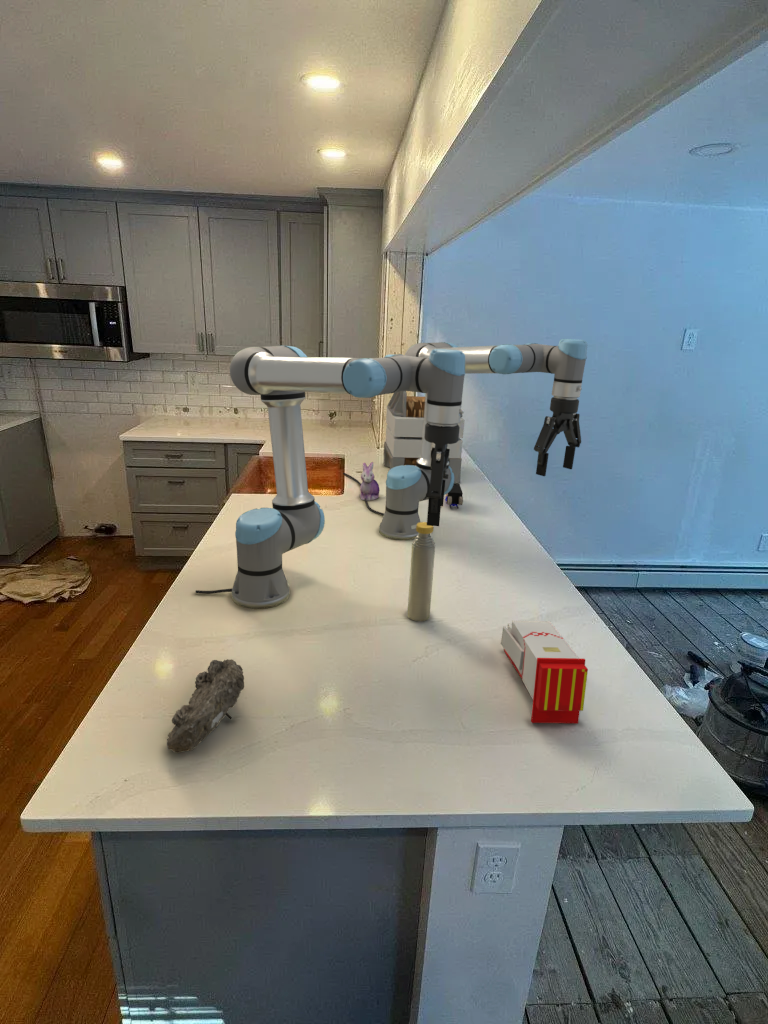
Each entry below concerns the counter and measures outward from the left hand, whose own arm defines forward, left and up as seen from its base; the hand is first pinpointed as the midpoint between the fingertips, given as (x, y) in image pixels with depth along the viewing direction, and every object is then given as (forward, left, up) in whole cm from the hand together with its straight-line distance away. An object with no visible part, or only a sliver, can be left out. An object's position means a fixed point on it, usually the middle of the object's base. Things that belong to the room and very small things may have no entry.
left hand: (435, 515), depth 130 cm
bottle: (-3, +6, -30) cm, 31 cm away
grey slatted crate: (-19, +142, -30) cm, 146 cm away
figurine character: (0, +98, -30) cm, 103 cm away
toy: (+25, -15, -30) cm, 42 cm away
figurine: (-34, +97, -30) cm, 107 cm away
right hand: (+31, +42, +2) cm, 52 cm away
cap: (-3, +6, -6) cm, 9 cm away
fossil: (-37, -41, -30) cm, 63 cm away
